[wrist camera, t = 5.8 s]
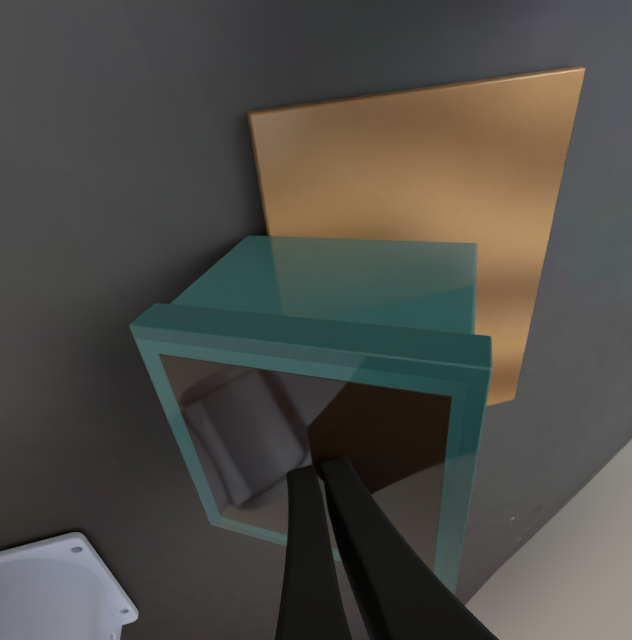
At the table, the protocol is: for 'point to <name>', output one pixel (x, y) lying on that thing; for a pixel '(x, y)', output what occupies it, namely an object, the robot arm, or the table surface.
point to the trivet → (432, 181)
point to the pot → (328, 381)
